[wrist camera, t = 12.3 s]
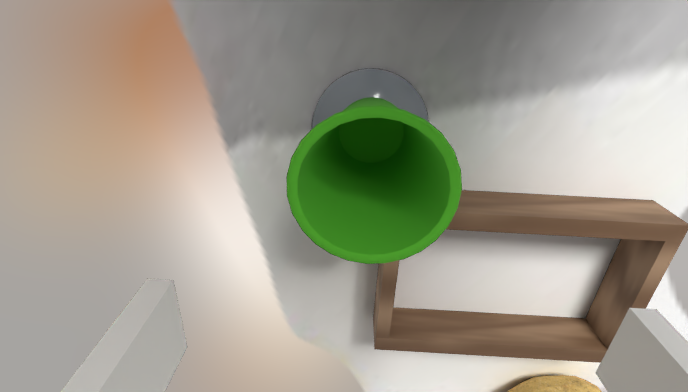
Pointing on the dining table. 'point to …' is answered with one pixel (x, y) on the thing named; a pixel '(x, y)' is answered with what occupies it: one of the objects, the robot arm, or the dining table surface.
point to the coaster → (368, 93)
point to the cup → (374, 183)
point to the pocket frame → (541, 331)
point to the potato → (555, 385)
